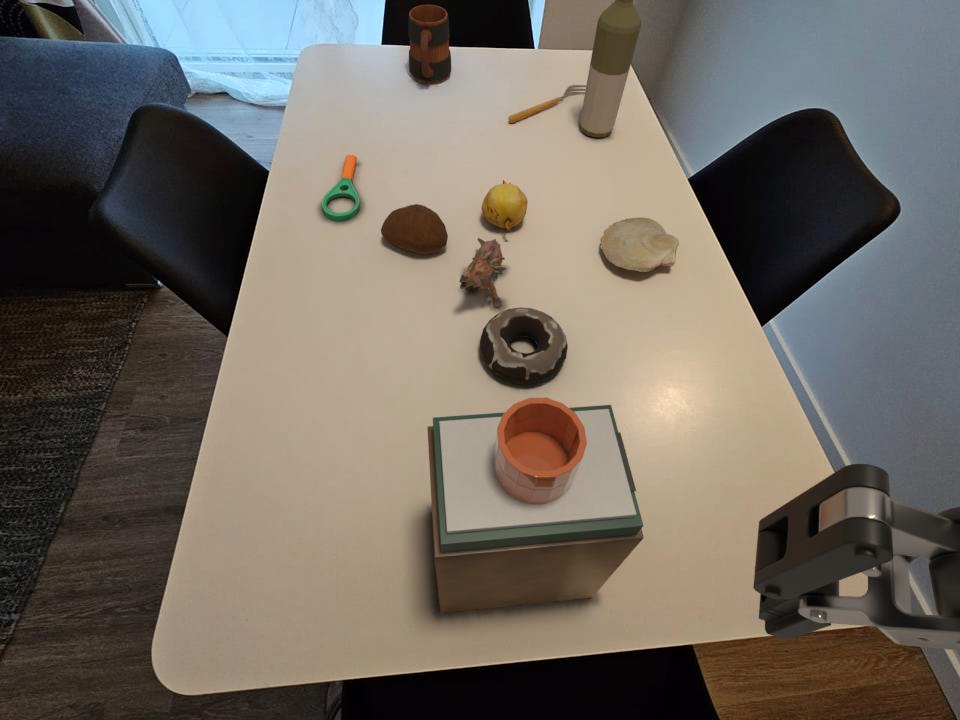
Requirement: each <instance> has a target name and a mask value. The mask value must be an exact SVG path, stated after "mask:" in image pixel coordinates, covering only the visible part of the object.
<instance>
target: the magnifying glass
mask: <svg viewBox="0 0 960 720" xmlns="http://www.w3.org/2000/svg"><path fill="white" fill-rule="evenodd" d="M357 160H358V158H357V156H356V155H355V154H347V155H345V159H344V163H343V168H342V172H341V176H340V180H339V181H338V182H337V183H336V184H335V185H334V186H333V187H332V188H331V189H330V190H329V191H328V192H326V194H325V195H324V196H323V198H322V201H321V209H322V212H323V213H324V216H325V217H326V218H327V219H328V220H331V221H334V222H346V221H349V220H351V219H353V218H355V217H356V216H357V215H358V213H359V211H360V209H361V201H360V196H359V195H358V193H357V191H356V189H355V187H354V185H353V180H354V175H355V170H356V165H357ZM341 197H347V198H350V199H352V200H353V201H354V203H355V204H354V206H353V207H352V209H349V210H348V211H345V212H344V211H343V212H336V211H335V212H334V211H332V210H330V209H329V208H328V207H327V206H328V204H329V202H330V201H332V200H334V199H336V198H341Z"/></svg>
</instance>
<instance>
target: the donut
mask: <svg viewBox="0 0 960 720" xmlns="http://www.w3.org/2000/svg"><path fill="white" fill-rule="evenodd" d="M520 337H522V338H528V339H530V340H532V341H533V342H534V343H535V344H536V347H537V348H536V349H535V350H533V351H530V352H520V351H518V350H515V349H514V348H513V347H512V346H511V341H512V340H514V339H516V338H520ZM568 345H569V344H568V340H567V335H566V333H565V332H564V329H563V328H562V327H561V325H560V324H559V322H557V321H556V320H555V318H553V317H552V316H550V315H549V314H547V313H545V312H544V311H542V310H538V309H536V308H531V307H521V306H520V307H514V308H513V307H512V308H508V309H505V310H502V311H500V312H498V313H497V314H496V315H494V316H493V317H492V318H490V319H489V320H488V321H487V323H486V324H485V326H484V328H482V332H481V335H480V339H479V346H480V347H479V348H480V354H481V356H482V359H483V361H484V363H485V365H486V366H487V367H488V368H489V369H490V370H491V372H493V373H494V375H497V376H498V377H499V378H501V379H503V380H505V381H507V382H512V383H514V384H523V385H529V384H530V385H531V384H537V383H541V382H542V381H545V380H547V379H549V378H552V377H553V376H554V375H555V374H556V373H558V371H560V369H561V368H562V366H563V364H564V363H565V360H566V359H567V355H568V348H569V347H568Z"/></svg>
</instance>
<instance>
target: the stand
mask: <svg viewBox="0 0 960 720" xmlns="http://www.w3.org/2000/svg"><path fill="white" fill-rule="evenodd" d="M427 446H428V447H427V448H428V464H429V479H430V480H429V482H430V498H431V499H430V500H431V516H432V517H431V518H432V534H433V535H432V536H433V551H434V553H433V555H434V565H435V574H436V584H437V592H438V602H439V612H440V614H445V613H455V612H464V611H473V610H474V611H475V610H484V609H494V608H503V607H514V606H524V605H532V604H542V603H552V602H563V601H572V600H582V599H591V598H594V596H596V594H597V593H598V591H599V590H601V588H602V587H603V586H604V585H605V584H606V582H607V581H608V580H609V579H610V578H611V577H612V575H613V574H614V573H615V572H616V571H617V570H618V568H619V567H620V566H621V565H622V564H623V563H624V562H625V560H626V559H627V558H628V557H629V556H630V555H631V553H632V552H633V551H634V550H635V549H636V548H637V547H638V545H639V544H640V543H641V542H642V541H643V540H644V533H643V528H641V530H640V531H639V532H638V533H637V534H636V535H626V536H615V537H604V538H593V539H583V540H572V541H561V542H550V543H540V544H529V545H518V546H507V547H496V548H486V549H475V550H464V551H453V552H441V544H440V527H439V511H438V495H437V479H436V463H435V447H434V431H433V425H428V426H427Z"/></svg>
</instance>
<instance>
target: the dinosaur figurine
mask: <svg viewBox="0 0 960 720" xmlns="http://www.w3.org/2000/svg"><path fill="white" fill-rule="evenodd" d="M476 240H477V241H478V243H479V244H480V247H479V248H478V250H476V253H475V254H474V257H472V258H471V259H472V261H471V262H470V263H469V264H468V266H467V267H466V270H465V271H464V272H462V274H460V279H459V283H460V285H459V288H460V289H461V290H463V289H465V290H467V291H468V292H471V291H472V292H474V291H475V289H476V288H479V287H480V288H481V289H483V290H486V289H487V290H488V291H490V294H491V295H492V297H493V305H494V308H495V309H496V308H499V309H500V308H501V307H503V304H502V303H503V301H502V299H501V297H499V296H498V293H497V288H496V286H495V283H494V282H493V279H494V278H495V279H496V280H497V279H498V276H497V275H502V276H503V271H505V270H506V269H507V267H505V266H502V263H503V261H505V260H506V258H505V257H503V253H502V249H501V244H500V243H499V242H498V241H497V239H496V238H494V239H492V240H486V241H485V240H483V239H481V238H479V237H478V238H477V239H476Z"/></svg>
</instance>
